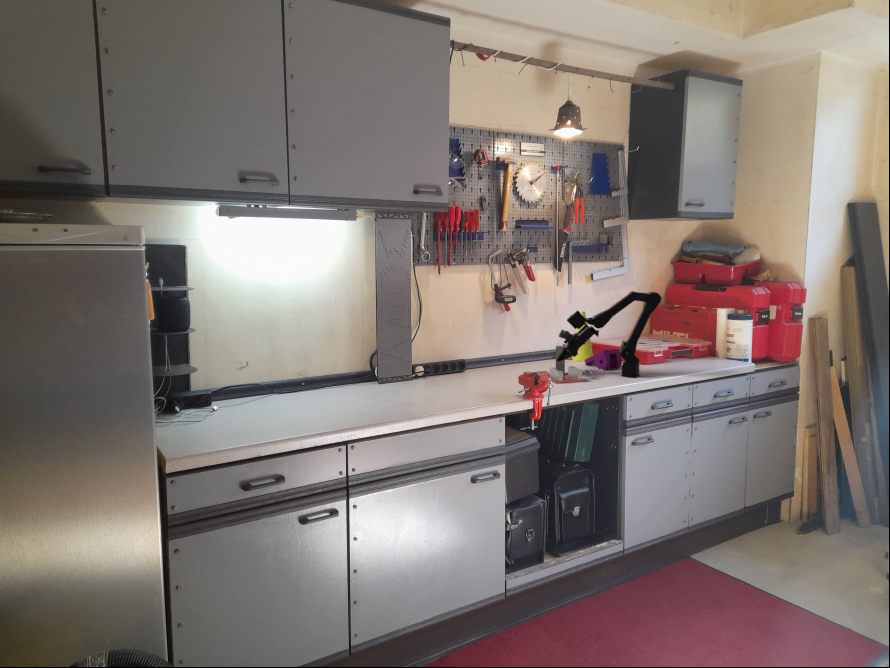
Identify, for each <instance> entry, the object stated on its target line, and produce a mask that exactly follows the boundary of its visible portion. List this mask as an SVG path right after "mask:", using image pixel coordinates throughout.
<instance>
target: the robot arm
mask: <svg viewBox="0 0 890 668" xmlns="http://www.w3.org/2000/svg"><path fill="white" fill-rule="evenodd" d="M635 301H636V302H643V304H642V309H641V311H640V313H639V316H638V317H637V320H636V322H635V324H634V326H633V328H632V330H631V333H630V335H629V337H628V338H627V339H626V340H622V341H621V344H620V346H618V349H619V353H620V355H621V358H622V360H623V359H624V361H622V364H621V375H620V376H621V377H627V378H632V377H633V378H632V379H634V378H637V376H638V377H640V375H641V374H640V358H638V357H637V355H636V351H637V347H638V346H637V345H638V342H639V340H640V337H641V336H642V333H643V331H644V329H645V327H646V325H647V323H648V321H649V319H650V316H651V315H652V314H653V313H654V312H655V310H656V309H657V307H658V306H659V305H660V303H661V301H662V296H661V294H660V293H659V292H656V291H649V292H639V291H637V292H636V291H634V290H632V291H630V292H628V294H626V295H625V296H624V297H622V298H620V300H618V301H617V302H616V303H614V304H613V305H612V306H610V307H609V308H607V309H605V310H603V311H600V312H598V313H596V314H594V315H593V316H592V317H586V318H585V317H584V316H583V315H582V314H581V311H579V310H576V311H575V312H574V313H572V314H571V315H570V316H568V318H567V319H566V322H567V323H568V324H570V326H571V327H572V328H574V330H577V329H580V328H581V327H582V326H583V325H584V324H585V326H584V327H583V328H582V329H581V330H579V331H578V332H577V333H576V332H574V334H573V333H570V331H568V330H565V329H561V330H560V332H559V334H558V337H559V338H560V339H564V341H563V343H562V346H565V347H564V350H563V352H562V353H561V355H560V356H559V357H558V359H557V361H558V362H559V361H562V360H564V359H565V360H567V359H570V357H573V356H574V357H575V356H576V355H578V350H579V348H580V347H581V346H582V345H583V344H585V342H586V341H588V340H589V339H590V340H591V338H592V337H593V336H594V335H595V336H596V337H597V338H599V337H600V336H599V334H600V333H599V332H600V330H599V329H603V328H604V327H605V326H606V325H607V324H608V323H609V322H610V321H611V319H612V318H613V317H614V316H616V315H617V314H618V313H620V312H621V311H623V310H624V309H625V308H627V307H628V306H629V305H630V304H632V303H634V302H635ZM585 322H587V324H586V323H585ZM589 325H590V326H589ZM595 328H596V329H597V330H596V329H595Z"/></svg>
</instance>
